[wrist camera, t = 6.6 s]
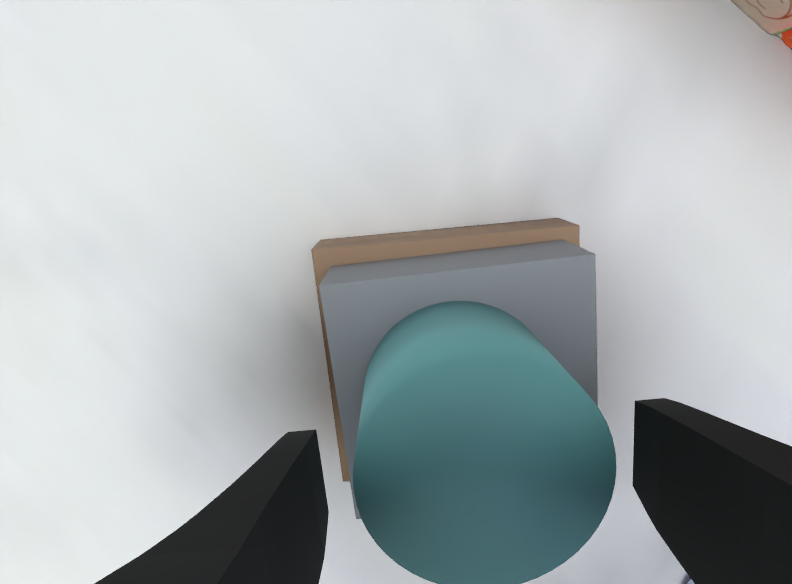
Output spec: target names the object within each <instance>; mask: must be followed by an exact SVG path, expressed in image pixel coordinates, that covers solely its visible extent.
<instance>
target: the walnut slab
mask: <svg viewBox="0 0 792 584" xmlns="http://www.w3.org/2000/svg"><path fill="white" fill-rule="evenodd" d="M561 239H563V240H565V241H568V242H570V243H572V244H574V245H576V246H578V247H579V225H576V224H574V223H571V222H568V221H565V220H562V219H559V218H553V219H542V220H531V221H520V222H509V223H498V224H488V225H477V226H466V227H455V228H444V229H433V230H423V231H412V232H401V233H390V234H379V235H368V236H358V237H347V238H336V239H325V240H320V241H319V242H318V244H317V245H316V246H315V247H314V248H313V249H312V257H313V264H314V271H315V279H316V286H317V293H318V301H319V308H320V315H321V323H322V330H323V337H324V345H325V352H326V359H327V367H328V374H329V382H330V389H331V396H332V404H333V411H334V418H335V426H336V433H337V440H338V448H339V455H340V462H341V470H342V477H343V481H350V476H349V470H348V464H347V458H346V451H345V445H344V439H343V433H342V426H341V420H340V414H339V407H338V401H337V395H336V389H335V382H334V376H333V370H332V364H331V357H330V351H329V345H328V339H327V332H326V326H325V320H324V314H323V307H322V301H321V295H320V288H319V285H320V283H321V282H322V280H323V278H324V277H325V275H326V273H327V272H328V270H329V268H330V266H335V265H343V264H352V263H361V262H370V261H378V260H387V259H396V258H404V257H413V256H422V255H430V254H439V253H448V252H456V251H465V250H474V249H482V248H491V247H500V246H509V245H517V244H526V243H535V242H543V241H552V240H561Z"/></svg>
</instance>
